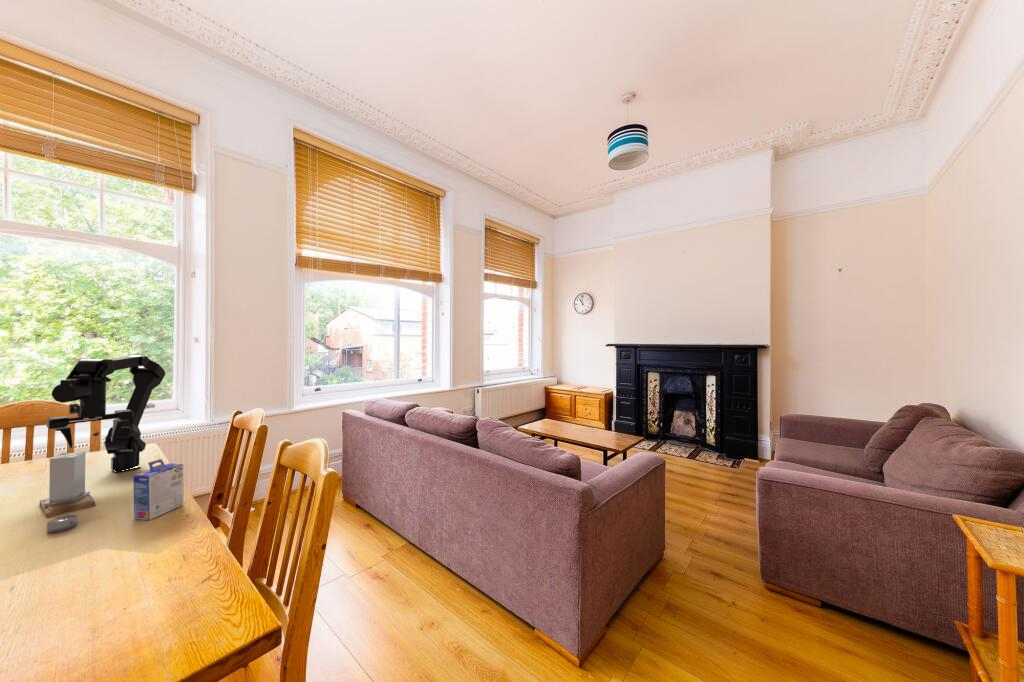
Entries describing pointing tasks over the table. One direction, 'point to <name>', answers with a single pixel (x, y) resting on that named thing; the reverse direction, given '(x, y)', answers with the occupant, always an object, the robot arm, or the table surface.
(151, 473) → the ink cartridge box
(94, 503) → the stand
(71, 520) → the grey rounded block
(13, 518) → the table surface
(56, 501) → the block
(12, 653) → the table surface
